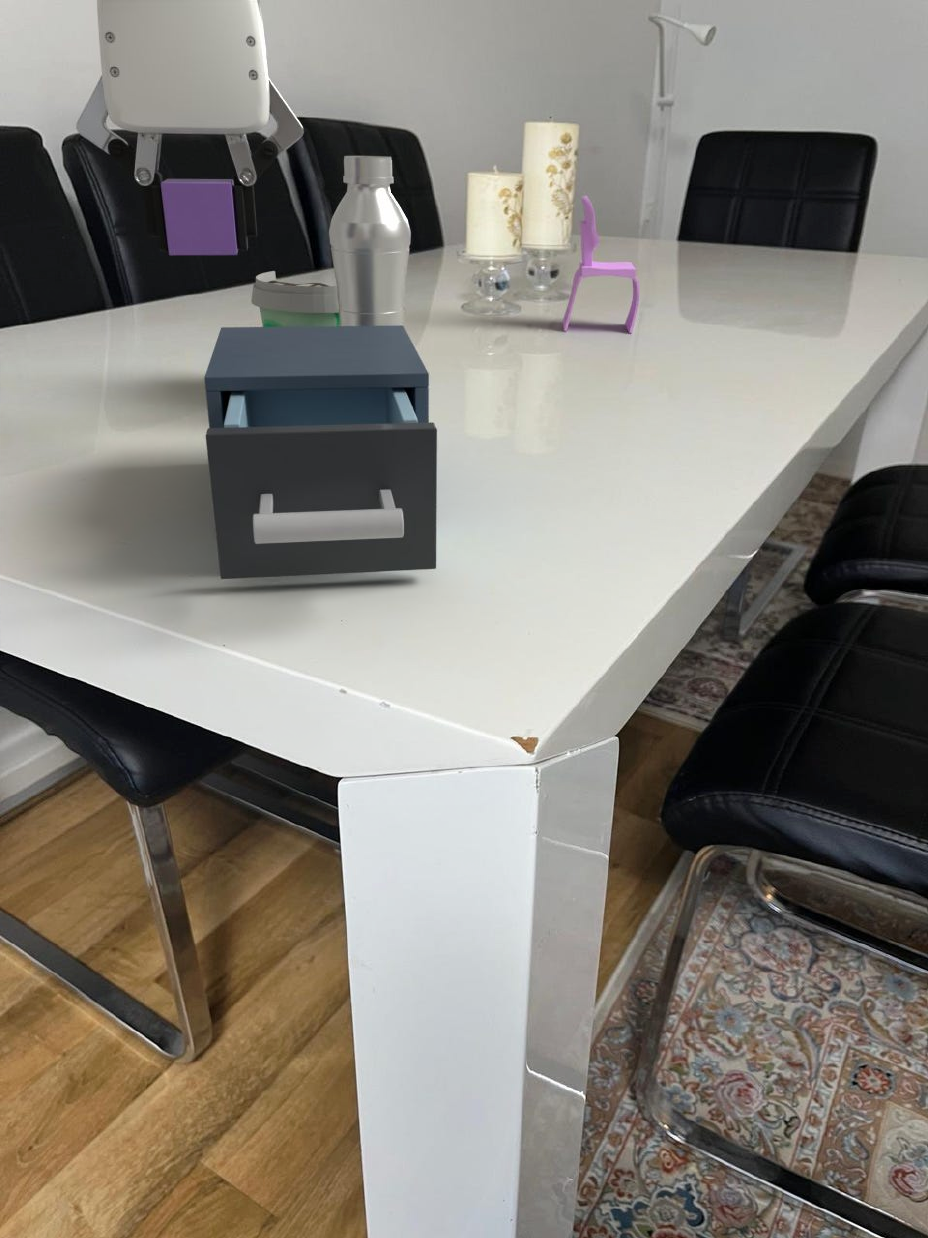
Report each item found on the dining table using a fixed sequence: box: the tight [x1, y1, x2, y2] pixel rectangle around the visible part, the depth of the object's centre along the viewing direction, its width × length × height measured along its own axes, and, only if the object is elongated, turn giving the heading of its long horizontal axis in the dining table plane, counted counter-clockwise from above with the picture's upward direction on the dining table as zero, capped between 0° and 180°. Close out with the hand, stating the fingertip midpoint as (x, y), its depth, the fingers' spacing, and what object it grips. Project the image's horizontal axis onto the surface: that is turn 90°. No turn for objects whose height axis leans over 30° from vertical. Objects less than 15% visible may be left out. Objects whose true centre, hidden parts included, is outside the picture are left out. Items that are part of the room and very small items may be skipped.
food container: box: [251, 270, 339, 327], centre depth 85 cm, size 12×6×10 cm, turn 55°
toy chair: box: [562, 195, 640, 334], centre depth 116 cm, size 8×9×15 cm
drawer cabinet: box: [203, 325, 430, 428], centre depth 63 cm, size 15×13×10 cm
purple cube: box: [161, 178, 239, 256], centre depth 65 cm, size 4×4×4 cm
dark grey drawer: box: [205, 387, 438, 580], centre depth 53 cm, size 18×11×8 cm, turn 9°
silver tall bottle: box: [328, 155, 412, 327], centre depth 77 cm, size 6×7×20 cm
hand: (204, 245), depth 66 cm, fingers closed on purple cube, 4 cm apart
